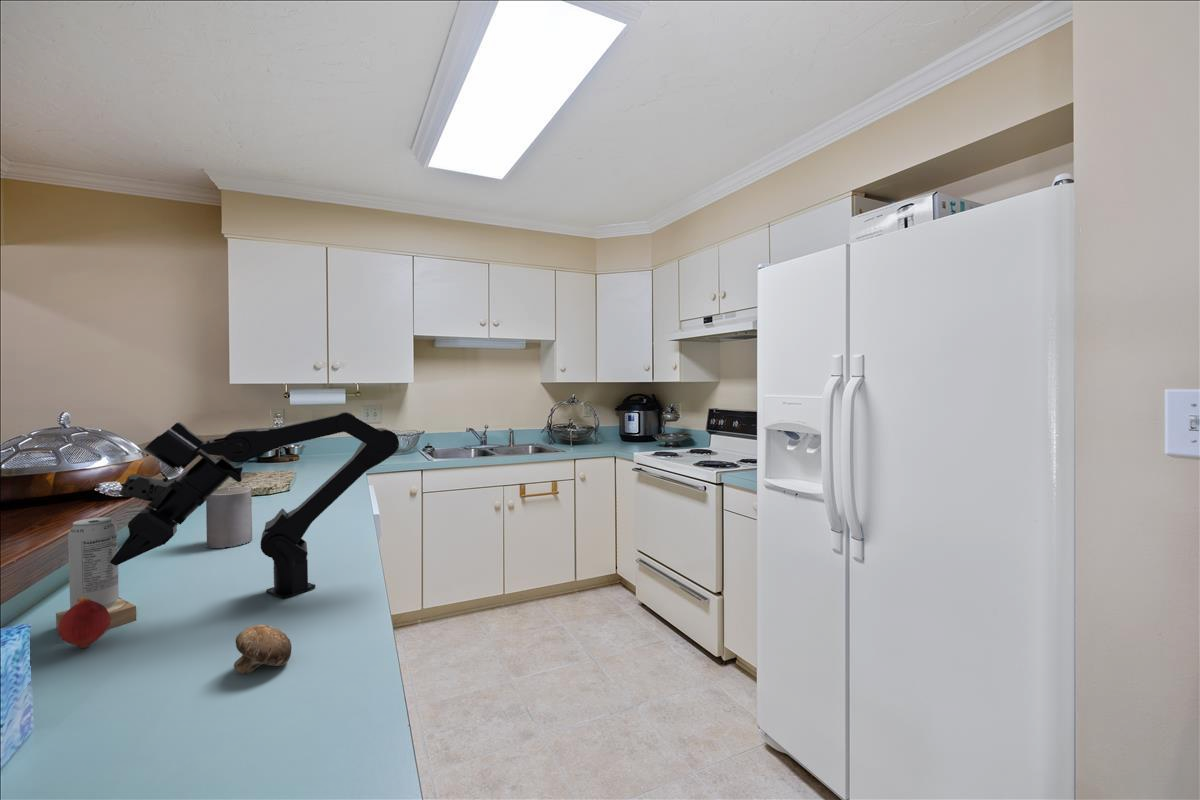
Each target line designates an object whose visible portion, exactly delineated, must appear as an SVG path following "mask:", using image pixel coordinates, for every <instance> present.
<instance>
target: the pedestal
mask: <svg viewBox="0 0 1200 800" xmlns="http://www.w3.org/2000/svg"><path fill="white" fill-rule="evenodd" d="M68 610H69V609H65V610H63V611H58V612H56V613H55V623H56V624H55V627H56V629H57V630H58V625H59V622H60V620H61V618H62V617H63V616H64V614H65V613H66V612H67V611H68ZM107 611H108V612H109V614H110V619H111V620H110V625H109V627H108V629H107V630H110V629H111V628H116V627H118V626H121V625H125V624H128V623H131V622H135V621H137V605H135V604H133V603H132V602H129V601H127V600H125V599H123V598H120V597H119V598H118V600H116V601H115V605H114V606H112V607H110V608H108V609H107Z"/></svg>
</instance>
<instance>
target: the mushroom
mask: <svg viewBox="0 0 1200 800" xmlns="http://www.w3.org/2000/svg"><path fill="white" fill-rule="evenodd" d="M235 637H236V638H235V647H236V649H237V651H238V652H239V654H241V655H242V656H240V657H239V658H238V659H236V660H235V662H234V664H233V668H234V670H235V671H236V672H237V673H239V674H243V675H246V674H249V673H252V672H254V671H255V669H257V668H258V667H260V666H261V665H264V664H265V665H268V666H273V667H274V666H275V667H278V666H279V667H281V666H283V665H286V664H287V663H288V661H290V658H291V654H292V643H291V640H290V638H289V637H288V636H287V634H286V633H285V632H283V631H282V630H280V629H279V628H276V627H274V626H270V625H267V624H254V625H251V626H249V627H246V628H245V629H243V630H242V631H241V632H240V633H239V634H238V635H237V636H235Z"/></svg>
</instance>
